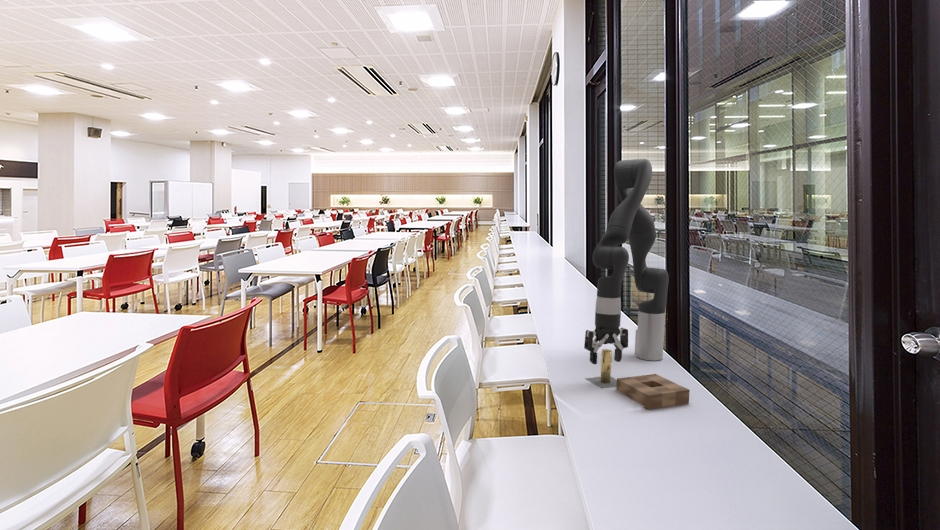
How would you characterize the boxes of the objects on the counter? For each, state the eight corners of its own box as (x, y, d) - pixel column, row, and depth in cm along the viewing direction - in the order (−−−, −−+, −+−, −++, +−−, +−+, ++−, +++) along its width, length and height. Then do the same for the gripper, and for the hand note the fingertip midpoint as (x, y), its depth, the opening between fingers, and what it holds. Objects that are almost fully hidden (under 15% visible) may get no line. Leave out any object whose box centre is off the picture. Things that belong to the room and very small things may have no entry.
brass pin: (598, 380, 153) (599, 349, 152) (606, 379, 154) (608, 348, 153) (604, 383, 150) (605, 352, 149) (612, 382, 151) (613, 351, 150)
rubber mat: (584, 379, 155) (584, 378, 155) (609, 377, 158) (609, 375, 158) (601, 389, 146) (601, 388, 146) (626, 386, 149) (626, 385, 149)
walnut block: (616, 391, 145) (616, 378, 145) (654, 386, 150) (655, 373, 149) (647, 409, 132) (648, 395, 131) (688, 403, 136) (689, 389, 136)
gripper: (620, 307, 155) (617, 357, 157) (581, 309, 151) (579, 360, 152) (635, 312, 148) (632, 364, 150) (594, 314, 144) (592, 368, 145)
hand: (605, 362), depth 151 cm, fingers open, 8 cm apart
